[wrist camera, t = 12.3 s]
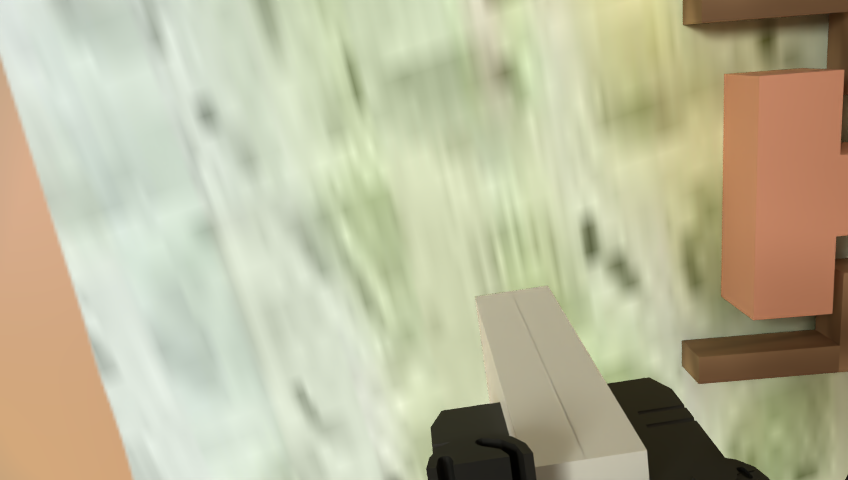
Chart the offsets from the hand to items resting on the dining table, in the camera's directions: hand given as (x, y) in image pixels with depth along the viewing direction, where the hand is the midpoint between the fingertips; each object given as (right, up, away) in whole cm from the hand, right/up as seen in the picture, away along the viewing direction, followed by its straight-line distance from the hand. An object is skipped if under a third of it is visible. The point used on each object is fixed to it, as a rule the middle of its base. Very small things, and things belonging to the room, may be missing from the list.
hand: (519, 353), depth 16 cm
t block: (+19, +5, +26) cm, 33 cm away
